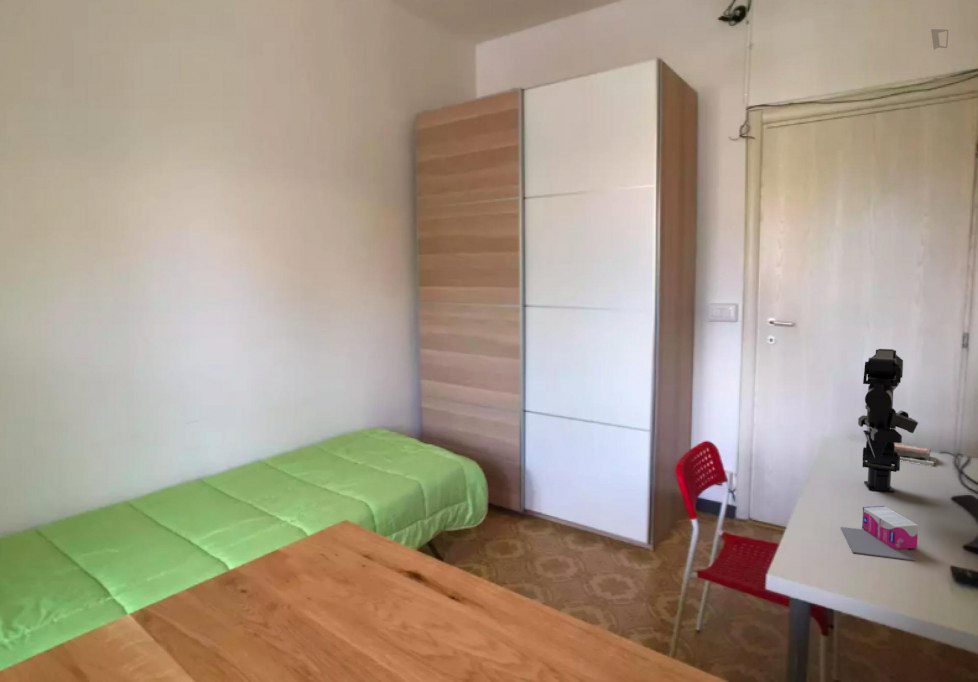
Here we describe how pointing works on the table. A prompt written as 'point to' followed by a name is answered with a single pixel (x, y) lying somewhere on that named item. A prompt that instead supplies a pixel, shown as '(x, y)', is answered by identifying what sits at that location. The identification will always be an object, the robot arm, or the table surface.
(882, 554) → the mat
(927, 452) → the packaged product
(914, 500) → the table surface
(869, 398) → the robot arm
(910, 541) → the supplement box
